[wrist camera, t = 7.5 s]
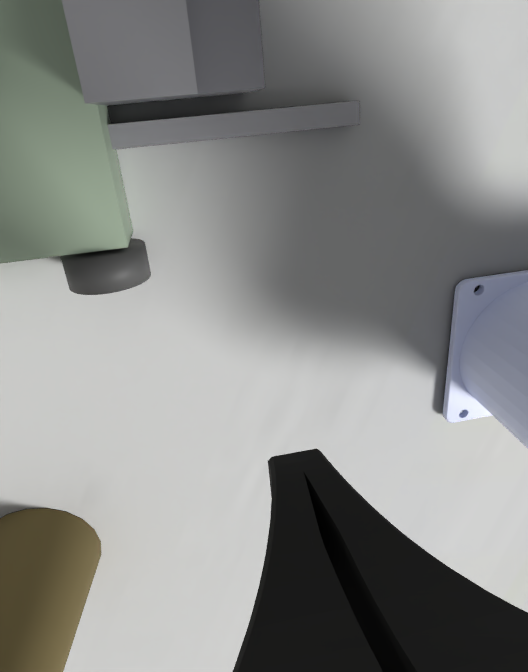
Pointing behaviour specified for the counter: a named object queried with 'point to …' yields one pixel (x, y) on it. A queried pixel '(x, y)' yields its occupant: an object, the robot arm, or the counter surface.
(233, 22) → the grey block on ledge
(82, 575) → the olive brown tapered figure
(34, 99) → the mower deck
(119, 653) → the counter surface
